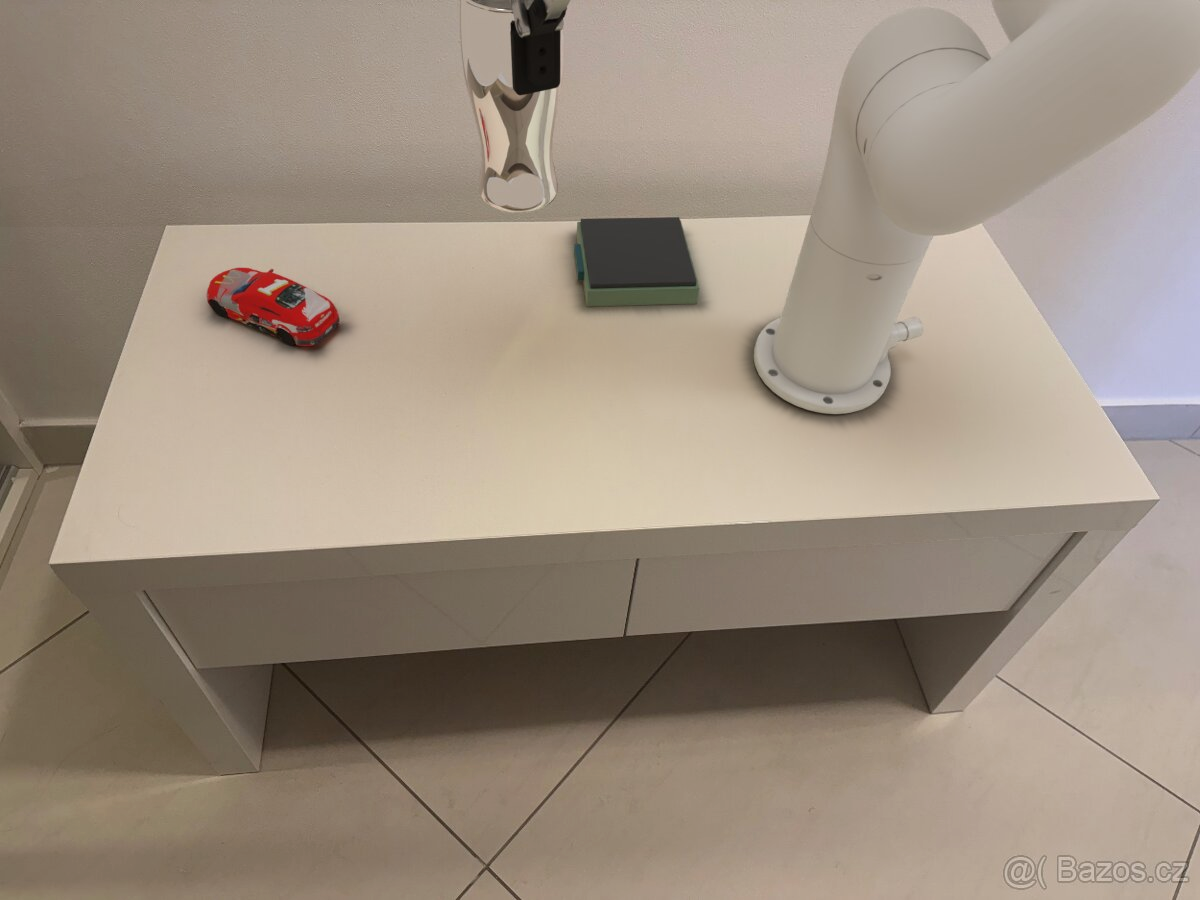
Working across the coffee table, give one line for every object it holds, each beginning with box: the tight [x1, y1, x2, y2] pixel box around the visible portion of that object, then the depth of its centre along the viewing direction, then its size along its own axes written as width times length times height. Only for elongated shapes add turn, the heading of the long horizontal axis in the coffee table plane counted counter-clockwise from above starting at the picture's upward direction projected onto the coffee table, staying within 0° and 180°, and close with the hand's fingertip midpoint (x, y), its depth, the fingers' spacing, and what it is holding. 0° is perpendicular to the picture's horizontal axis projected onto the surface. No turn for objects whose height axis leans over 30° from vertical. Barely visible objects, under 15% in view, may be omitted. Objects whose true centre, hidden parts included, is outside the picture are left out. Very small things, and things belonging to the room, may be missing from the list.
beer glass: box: [459, 0, 565, 214], centre depth 61 cm, size 7×7×15 cm
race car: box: [206, 267, 341, 347], centre depth 79 cm, size 13×5×4 cm, turn 62°
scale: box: [573, 216, 700, 307], centre depth 87 cm, size 12×11×3 cm
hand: (513, 61), depth 59 cm, fingers closed on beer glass, 7 cm apart
